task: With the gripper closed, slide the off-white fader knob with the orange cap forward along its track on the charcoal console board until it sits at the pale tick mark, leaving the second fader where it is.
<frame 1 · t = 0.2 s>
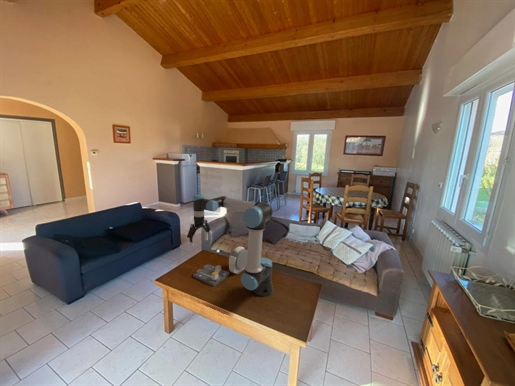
hand: (199, 242, 163), 27 cm above the table, fingers open, 13 cm apart
console: (211, 275, 169), on the table
fader 1: (215, 275, 161), point 5 cm above the table, slide at 0.0 cm
alarm clock: (238, 270, 178), on the table
fader 2: (218, 269, 170), point 5 cm above the table, slide at 4.0 cm
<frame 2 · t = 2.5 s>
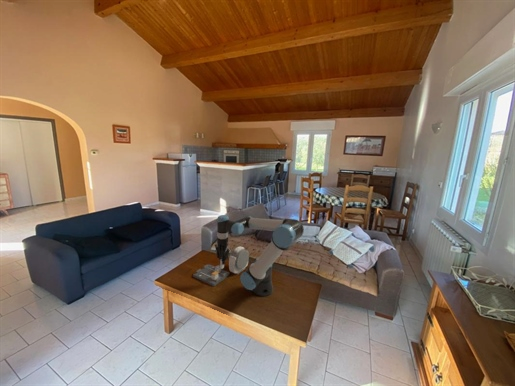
hand: (222, 267, 156), 13 cm above the table, fingers closed
nothing on the table moved.
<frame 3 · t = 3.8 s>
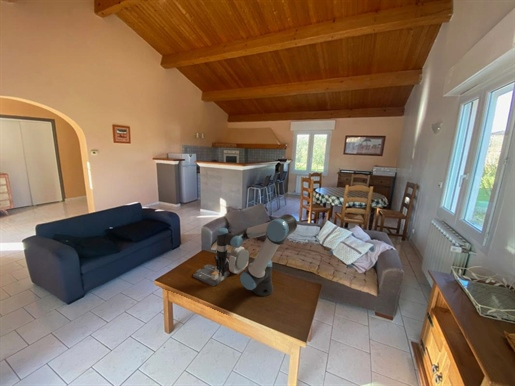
hand: (221, 279, 158), 4 cm above the table, fingers closed
nothing on the table moved.
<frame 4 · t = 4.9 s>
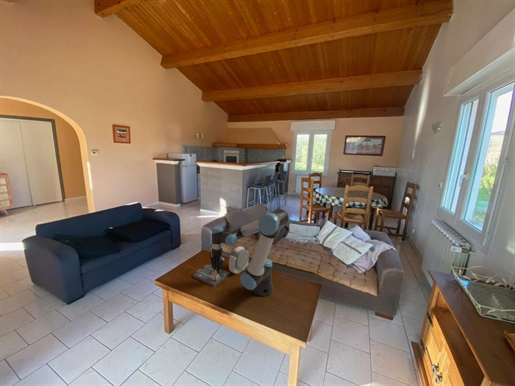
hand: (216, 277, 161), 4 cm above the table, fingers closed
fader 1: (214, 275, 162), point 5 cm above the table, slide at 0.5 cm, touching gripper
everything else where it was.
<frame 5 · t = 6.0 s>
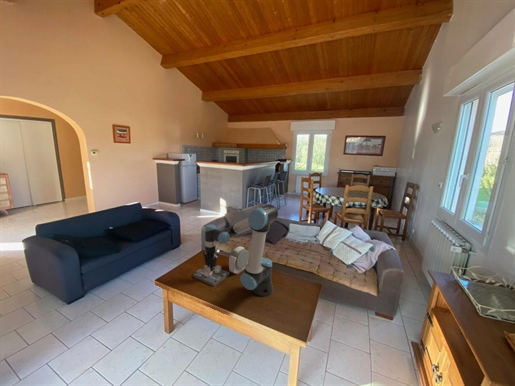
hand: (210, 274, 164), 4 cm above the table, fingers closed
fader 1: (208, 272, 165), point 5 cm above the table, slide at 6.9 cm, touching gripper
everything else where it was.
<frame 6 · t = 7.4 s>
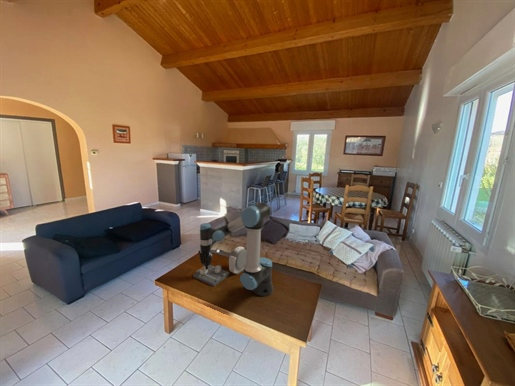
hand: (205, 272, 166), 4 cm above the table, fingers closed
fader 1: (203, 270, 167), point 5 cm above the table, slide at 11.7 cm, touching gripper
everything else where it was.
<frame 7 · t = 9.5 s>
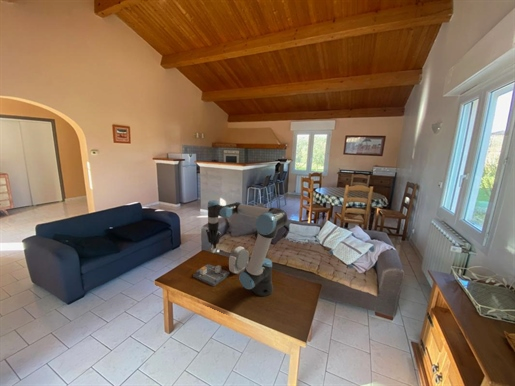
hand: (213, 252, 162), 22 cm above the table, fingers closed
fader 1: (203, 270, 167), point 5 cm above the table, slide at 11.7 cm
everything else where it was.
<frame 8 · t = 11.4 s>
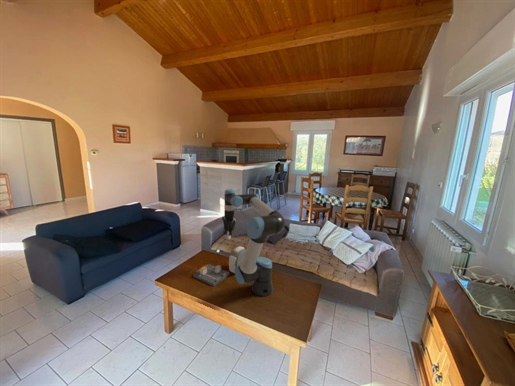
hand: (229, 238, 170), 28 cm above the table, fingers closed
nothing on the table moved.
at the end: fader 1 slide at 11.7 cm; fader 2 slide at 4.0 cm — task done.
